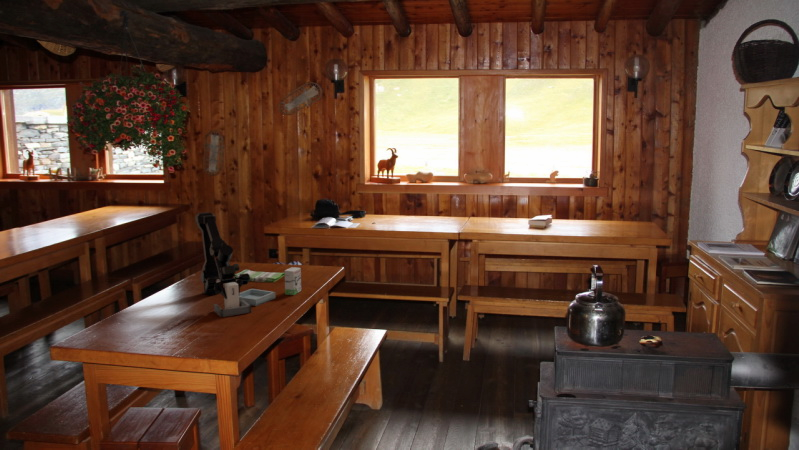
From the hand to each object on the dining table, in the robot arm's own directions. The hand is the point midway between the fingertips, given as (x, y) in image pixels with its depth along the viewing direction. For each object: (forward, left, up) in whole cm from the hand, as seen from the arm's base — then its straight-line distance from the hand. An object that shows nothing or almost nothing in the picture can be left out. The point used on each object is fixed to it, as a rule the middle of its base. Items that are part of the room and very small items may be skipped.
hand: (232, 297), depth 290 cm
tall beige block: (-1, +1, -7) cm, 7 cm away
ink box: (+3, +38, -7) cm, 38 cm away
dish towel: (-31, +53, -7) cm, 61 cm away
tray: (-5, +19, -7) cm, 20 cm away
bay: (-1, +1, -7) cm, 7 cm away
